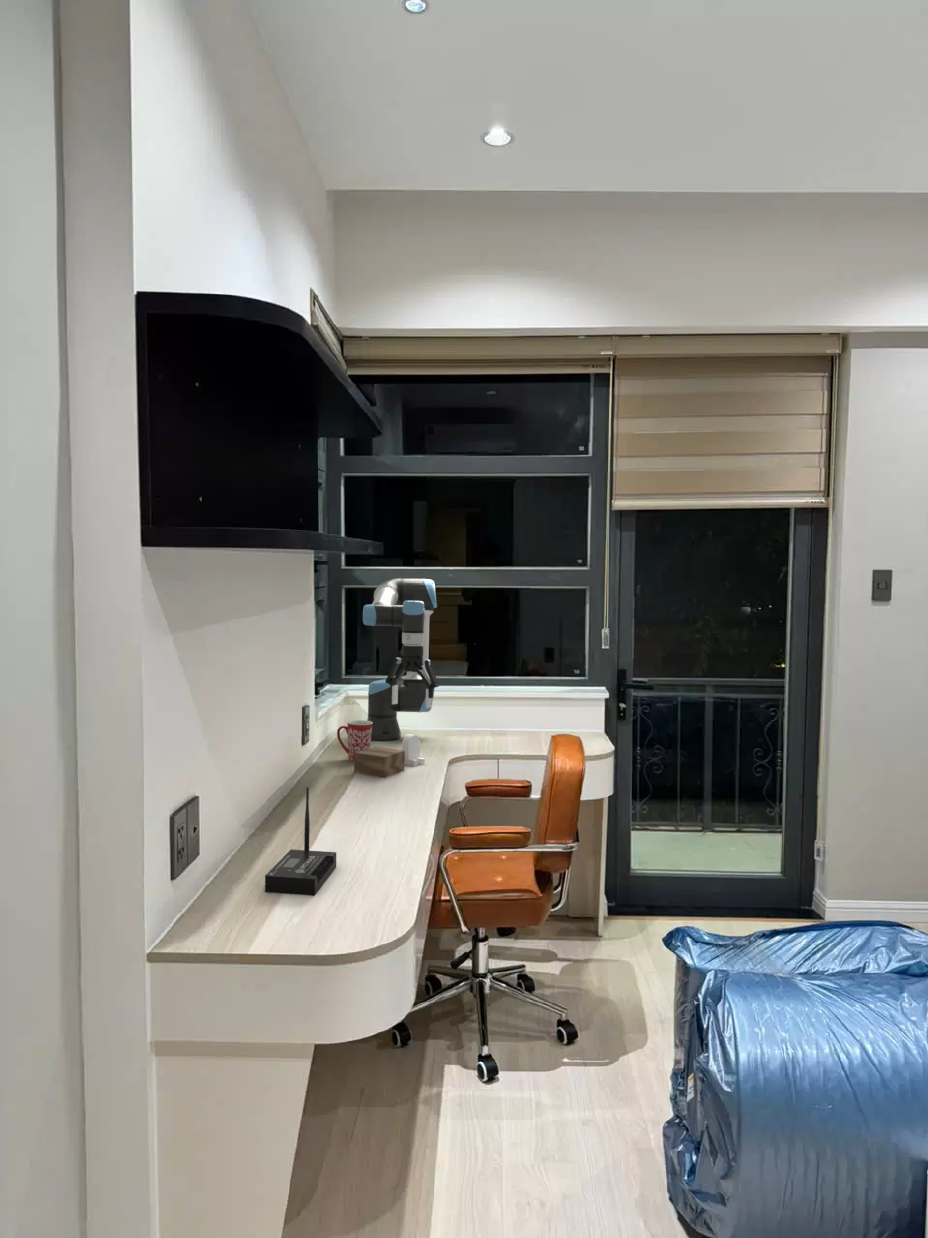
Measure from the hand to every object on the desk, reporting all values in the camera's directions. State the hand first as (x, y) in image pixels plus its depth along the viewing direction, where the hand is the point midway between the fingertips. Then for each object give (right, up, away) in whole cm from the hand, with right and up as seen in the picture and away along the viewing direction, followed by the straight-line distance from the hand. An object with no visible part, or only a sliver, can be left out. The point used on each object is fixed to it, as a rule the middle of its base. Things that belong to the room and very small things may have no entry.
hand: (411, 705), depth 276 cm
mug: (-20, -20, +3) cm, 29 cm away
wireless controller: (-16, -26, -106) cm, 110 cm away
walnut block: (-10, -21, -13) cm, 27 cm away
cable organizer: (0, -20, +1) cm, 20 cm away
